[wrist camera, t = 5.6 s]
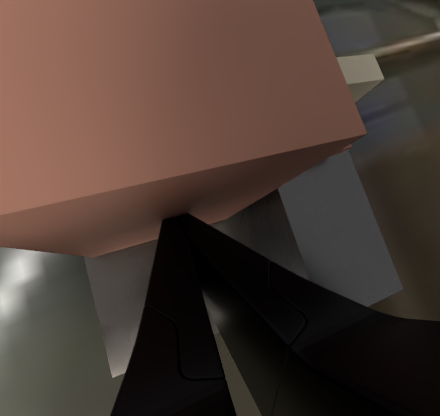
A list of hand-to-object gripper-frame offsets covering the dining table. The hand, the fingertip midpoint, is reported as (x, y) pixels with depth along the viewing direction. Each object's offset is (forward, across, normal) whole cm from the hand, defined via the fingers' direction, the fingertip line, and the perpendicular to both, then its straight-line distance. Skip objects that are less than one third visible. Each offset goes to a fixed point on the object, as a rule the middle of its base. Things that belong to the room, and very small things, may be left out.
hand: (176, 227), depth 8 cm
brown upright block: (+5, -2, +3) cm, 6 cm away
